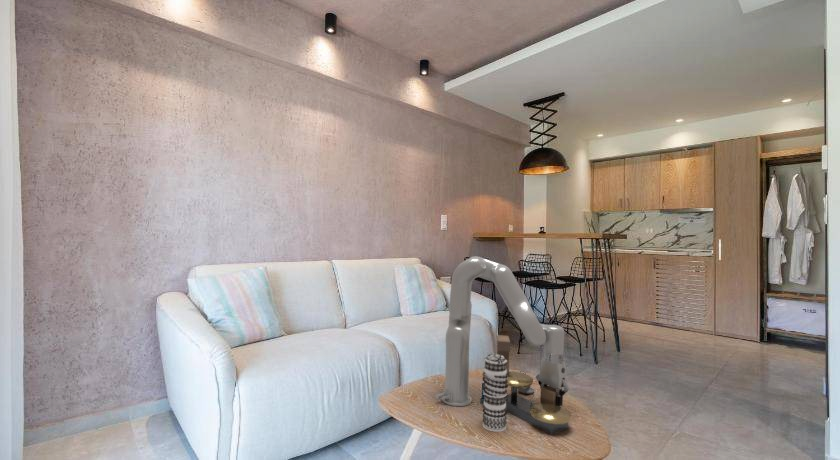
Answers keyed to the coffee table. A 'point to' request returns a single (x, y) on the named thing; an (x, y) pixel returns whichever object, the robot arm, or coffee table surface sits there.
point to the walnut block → (549, 396)
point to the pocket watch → (525, 388)
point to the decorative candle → (495, 393)
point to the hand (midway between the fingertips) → (551, 402)
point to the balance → (534, 407)
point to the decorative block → (504, 348)
